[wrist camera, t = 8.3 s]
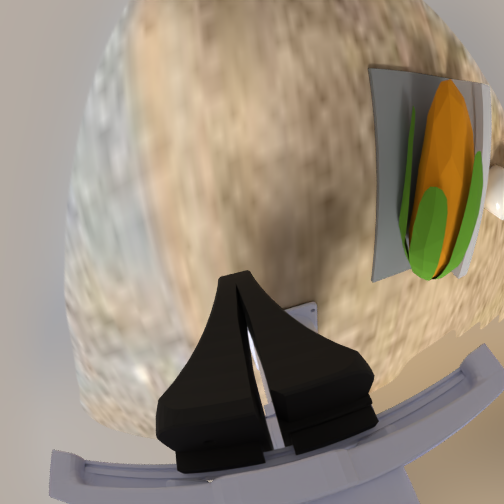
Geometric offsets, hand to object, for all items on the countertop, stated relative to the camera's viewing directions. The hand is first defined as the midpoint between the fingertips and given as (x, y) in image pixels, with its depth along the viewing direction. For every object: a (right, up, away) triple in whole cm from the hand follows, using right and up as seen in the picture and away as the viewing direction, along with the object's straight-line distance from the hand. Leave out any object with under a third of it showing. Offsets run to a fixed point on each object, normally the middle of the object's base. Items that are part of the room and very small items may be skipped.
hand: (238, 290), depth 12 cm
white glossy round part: (+35, +11, +14) cm, 39 cm away
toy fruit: (+17, +9, +10) cm, 22 cm away
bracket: (+18, +9, +11) cm, 23 cm away
